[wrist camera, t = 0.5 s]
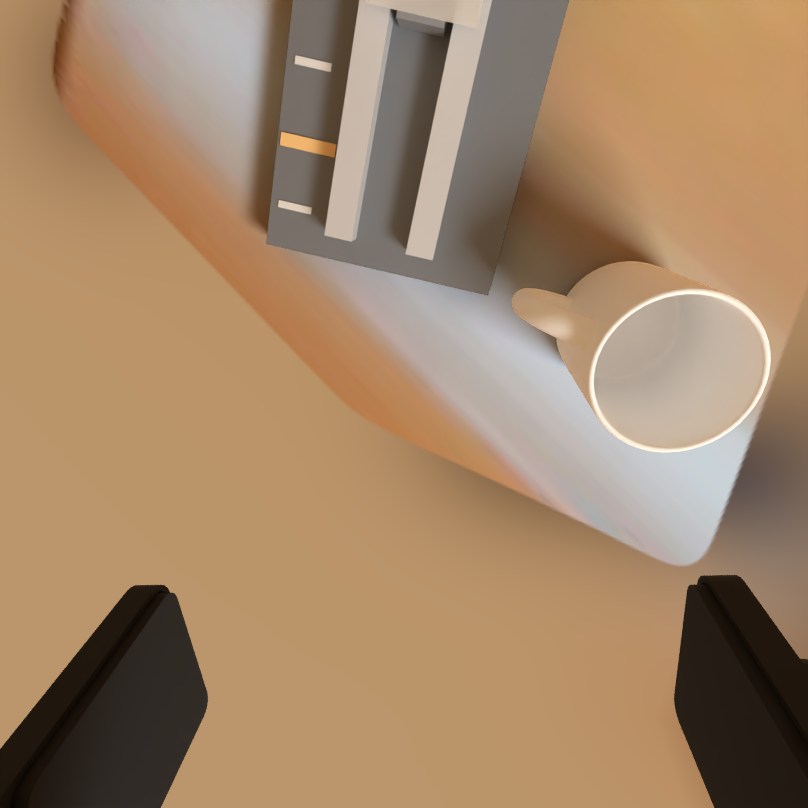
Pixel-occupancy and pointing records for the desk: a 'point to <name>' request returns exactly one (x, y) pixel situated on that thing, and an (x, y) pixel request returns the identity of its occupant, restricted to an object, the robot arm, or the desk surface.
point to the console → (408, 136)
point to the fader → (433, 13)
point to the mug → (655, 353)
